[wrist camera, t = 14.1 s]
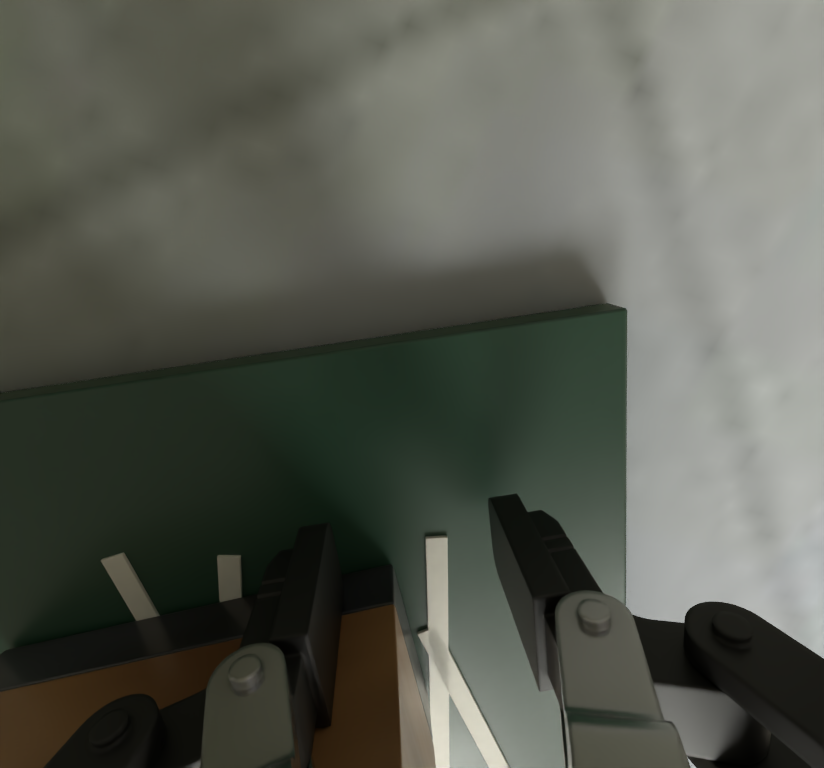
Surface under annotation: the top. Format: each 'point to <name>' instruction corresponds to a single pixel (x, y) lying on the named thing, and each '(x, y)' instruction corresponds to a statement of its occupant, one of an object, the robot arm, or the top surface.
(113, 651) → the eraser
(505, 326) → the slate board
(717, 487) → the top surface
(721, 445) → the top surface
